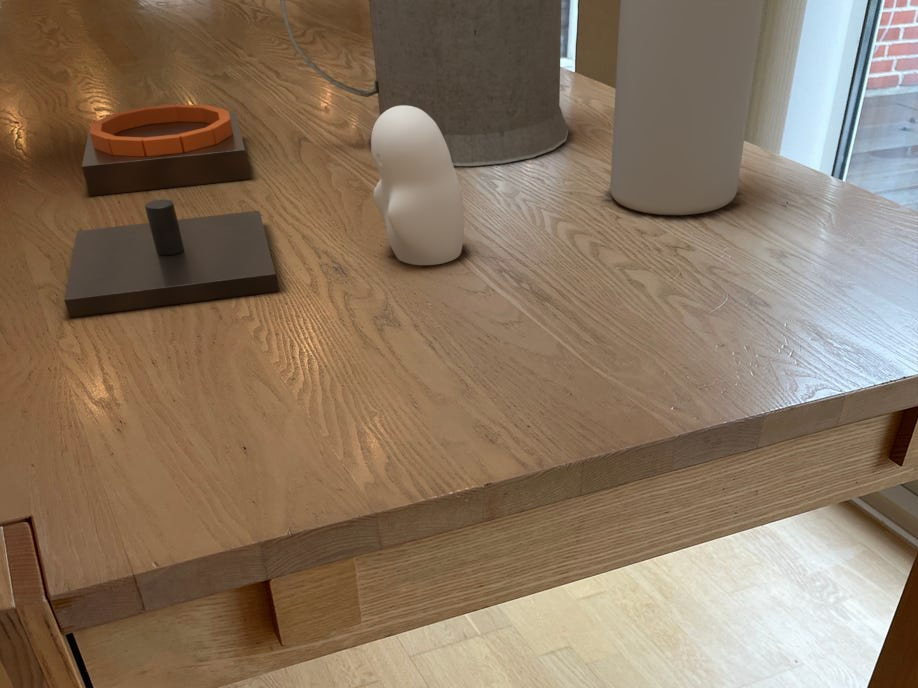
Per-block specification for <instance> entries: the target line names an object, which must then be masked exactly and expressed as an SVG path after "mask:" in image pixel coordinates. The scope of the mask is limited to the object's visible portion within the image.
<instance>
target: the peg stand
mask: <svg viewBox="0 0 918 688" xmlns="http://www.w3.org/2000/svg"><path fill="white" fill-rule="evenodd" d="M144 208H145V212H146V216H147V220H148V222H146V223H145V222H143V223H137V224H128V225H119V226H109V227H101V228H93V229H92V228H91V229H84V230H77V231H76V235H75V240H74V246H73V250H72V255H71V262H70V266H69V273H68V277H67V282H66V283H67V284H66V288H65V293H64V299H63V301H64V304H65V307H66V310H67V313H68V316H69V318H78V317H79V318H80V317H87V316H94V315H103V314H109V313H111V314H112V313H118V312H125V311H133V310H134V311H135V310H140V309H141V310H142V309H149V308H156V307H164V306H165V307H166V306H172V305H181V304H188V303H198V302H205V301H211V300H212V301H213V300H220V299H221V300H222V299H228V298H235V297H243V296H251V295H259V294H268V293H276V292H279V285H278V280H277V274H276V270H275V266H274V262H273V259H272V254H271V250H270V246H269V243H268V239H267V234H266V231H265V227H264V223H263V219H262V215H261V211H260V210H252V211H242V212H234V213H225V214H217V215H208V216H199V217H189V218H182V219H178V216H177V212H176V208H175V203H174V201H172V200H171V199H165V198H164V199H155V200H150V201H148V202H146V203H145V205H144Z"/></svg>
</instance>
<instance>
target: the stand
mask: <svg viewBox="0 0 918 688" xmlns="http://www.w3.org/2000/svg"><path fill="white" fill-rule="evenodd" d="M229 115H230V119H231V125H232V130H233V134H232V135H231V136H230V137H228V138H226V139H225V140H223V141H221V142H220V143H218V144H215V145H213V146H209V147H205V148H201V149H197V150H193V151H189V152H183V153H178V154H168V155H158V156H148V157H147V155H146V156H145V157H139V156H119V155H110V154H108V153H105V152H102V151H99V150H97V149H95V148H94V147H93V143H92V140H91V136H90V128H91V125H90V126H89V129H88V133H87V139H86V144H85V147H84V153H83V159H82V163H81V169H82V172H83V176H84V178H85V180H84V181H85V183H86V186H87V190H88V194H89V196H90V197H96V196H104V195H115V194H124V193H133V192H141V191H142V192H143V191H151V190H162V189H171V188H181V187H188V186H189V187H191V186H198V185H208V184H217V183H227V182H236V181H238V182H239V181H245V180H251V175H250V169H249V164H248V158H247V152H246V147H245V144H244V140H243V137H242V132H241V128H240V124H239V121H238V116H237V113H236V112H229ZM209 125H211V124H208V123H204V122H168V123H158V124H148V125H144V126H140V127H135V128H131V129H127V130H122V131H120V132H118V133H116V134H114V136H121V137H143V138H146V137H156V136H166V135H176V134H181V133H185V132H189V131H193V130H198V129H202V128H206V127H207V126H209Z"/></svg>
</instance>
